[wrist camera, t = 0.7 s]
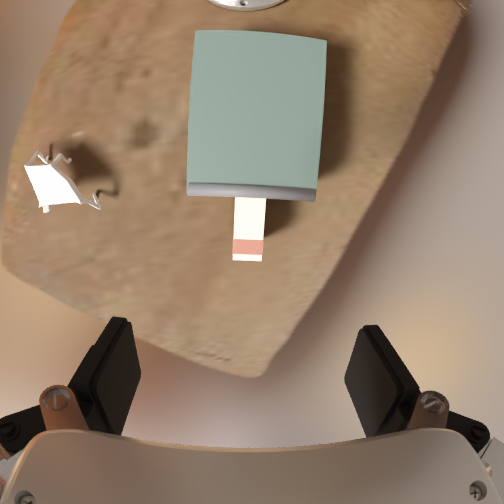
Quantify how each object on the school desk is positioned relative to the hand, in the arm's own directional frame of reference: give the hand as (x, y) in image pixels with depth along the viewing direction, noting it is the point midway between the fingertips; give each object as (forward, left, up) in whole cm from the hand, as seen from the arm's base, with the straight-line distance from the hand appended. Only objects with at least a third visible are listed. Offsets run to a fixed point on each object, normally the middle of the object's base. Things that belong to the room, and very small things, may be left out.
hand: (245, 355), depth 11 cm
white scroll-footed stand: (-2, -22, -26) cm, 34 cm away
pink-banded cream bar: (-2, +1, -24) cm, 25 cm away
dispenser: (-10, +1, -25) cm, 27 cm away
